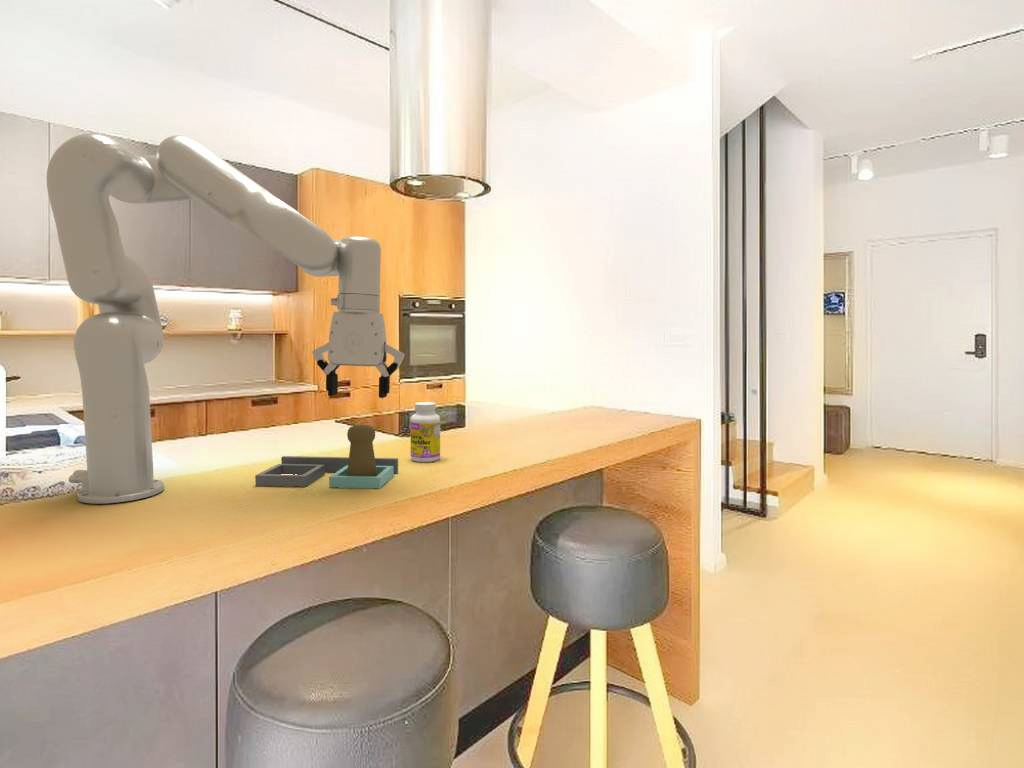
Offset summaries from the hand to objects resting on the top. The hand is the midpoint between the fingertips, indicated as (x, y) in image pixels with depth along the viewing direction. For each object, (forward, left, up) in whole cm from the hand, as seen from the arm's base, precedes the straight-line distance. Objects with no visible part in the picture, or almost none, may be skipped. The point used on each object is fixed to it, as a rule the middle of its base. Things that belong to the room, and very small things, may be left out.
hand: (357, 396), depth 109 cm
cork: (+1, 0, -17) cm, 17 cm away
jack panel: (-6, +2, -17) cm, 18 cm away
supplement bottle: (+9, +20, -17) cm, 28 cm away
